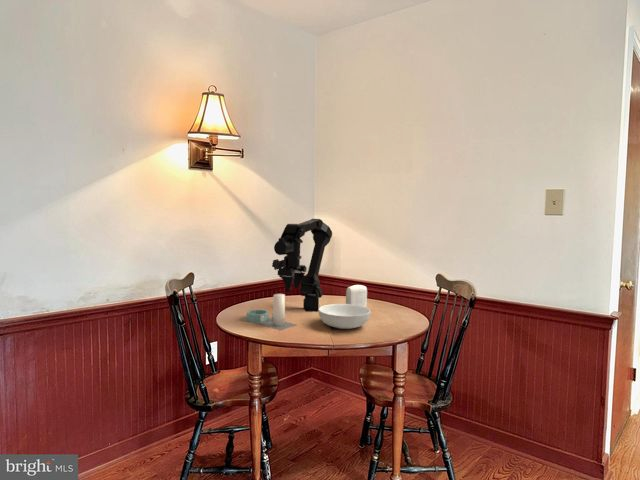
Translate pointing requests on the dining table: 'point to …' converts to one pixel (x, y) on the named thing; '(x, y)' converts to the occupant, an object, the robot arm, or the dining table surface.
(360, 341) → the dining table surface
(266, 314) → the end holder
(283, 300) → the white cylinder
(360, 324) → the serving bowl
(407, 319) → the dining table surface
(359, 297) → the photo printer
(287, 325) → the board
